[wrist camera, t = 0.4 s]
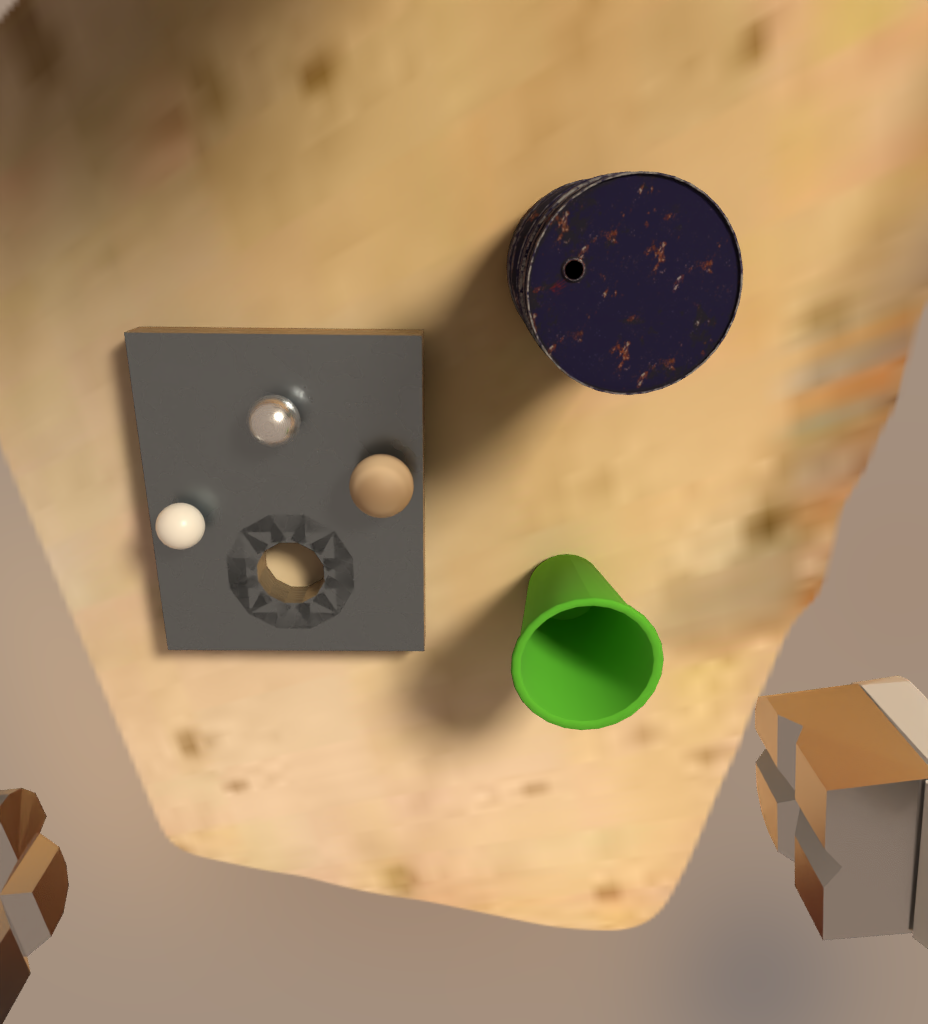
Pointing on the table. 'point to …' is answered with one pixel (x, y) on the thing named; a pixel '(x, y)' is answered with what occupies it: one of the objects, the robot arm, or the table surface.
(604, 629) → the cup
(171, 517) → the plastic ball
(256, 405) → the steel ball
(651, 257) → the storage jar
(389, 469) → the wood ball
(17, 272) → the table surface
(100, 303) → the table surface
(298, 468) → the plate
